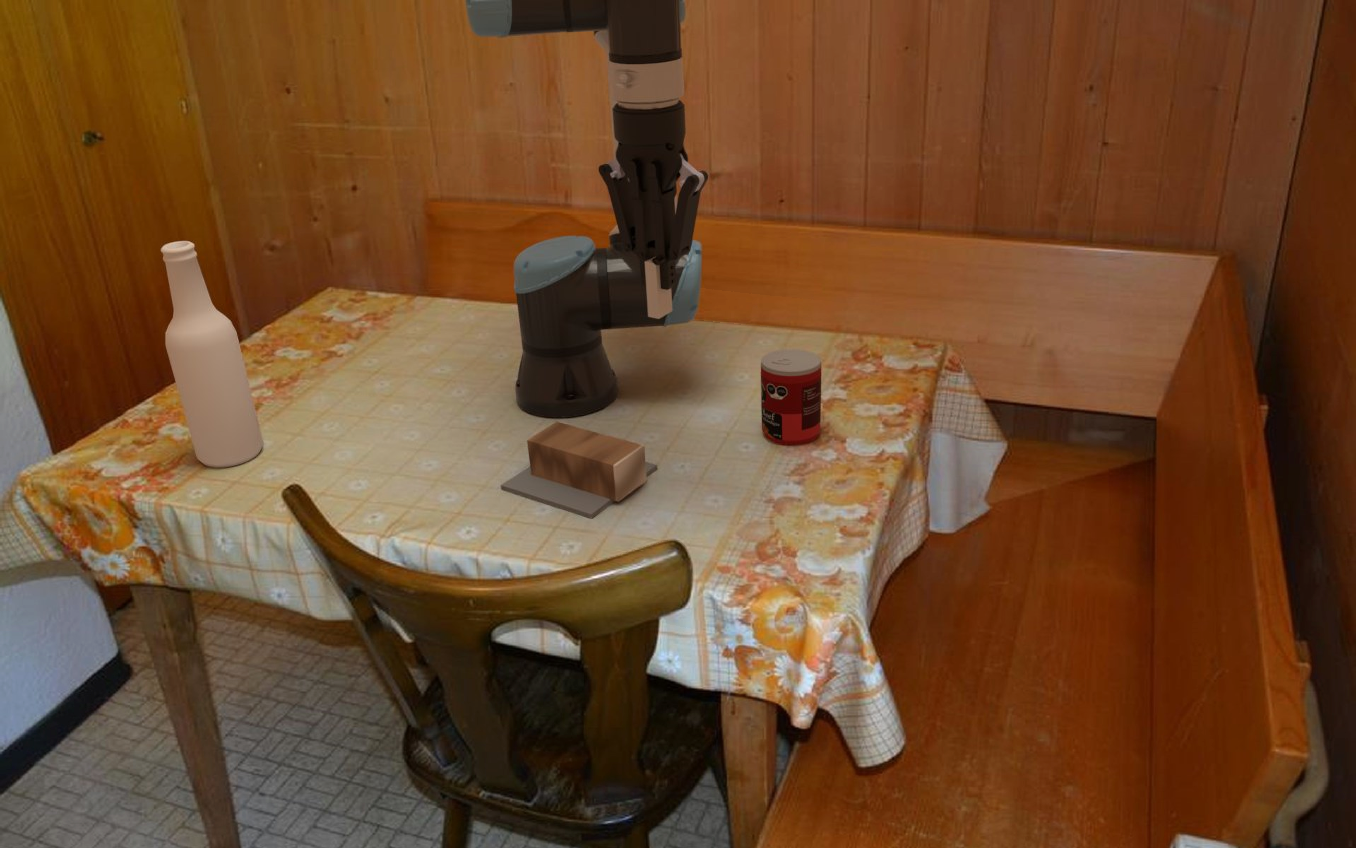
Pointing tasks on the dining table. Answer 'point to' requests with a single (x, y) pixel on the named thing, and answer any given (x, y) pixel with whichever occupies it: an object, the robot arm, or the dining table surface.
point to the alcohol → (208, 367)
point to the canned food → (791, 396)
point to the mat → (560, 493)
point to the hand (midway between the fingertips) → (660, 313)
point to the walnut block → (587, 460)
